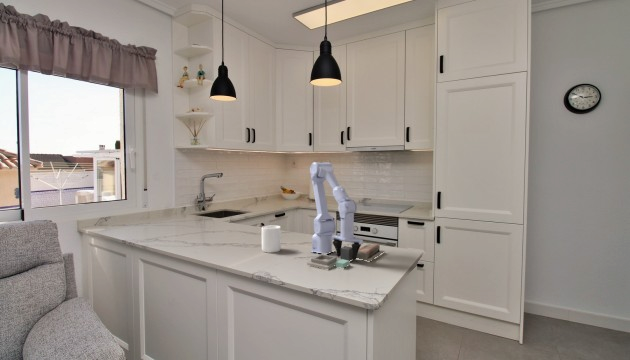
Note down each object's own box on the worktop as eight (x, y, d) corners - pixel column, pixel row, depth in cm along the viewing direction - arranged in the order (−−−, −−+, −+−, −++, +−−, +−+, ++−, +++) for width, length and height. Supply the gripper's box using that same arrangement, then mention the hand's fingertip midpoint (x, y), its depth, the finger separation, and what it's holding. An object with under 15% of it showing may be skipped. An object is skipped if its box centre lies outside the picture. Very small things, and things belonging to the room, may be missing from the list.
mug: (270, 254, 145) (270, 230, 144) (254, 249, 153) (254, 226, 152) (284, 250, 152) (284, 227, 152) (268, 245, 160) (268, 223, 159)
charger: (340, 261, 135) (340, 247, 135) (344, 259, 139) (344, 245, 138) (348, 263, 133) (348, 249, 133) (352, 260, 137) (352, 247, 136)
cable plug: (335, 267, 128) (335, 262, 127) (342, 264, 132) (342, 258, 132) (343, 269, 125) (343, 263, 125) (349, 265, 130) (350, 260, 130)
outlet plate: (307, 265, 130) (307, 259, 129) (322, 258, 140) (322, 252, 139) (327, 270, 124) (327, 263, 124) (341, 262, 134) (341, 256, 134)
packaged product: (370, 253, 133) (350, 249, 139) (370, 263, 134) (349, 260, 139) (384, 244, 148) (365, 241, 154) (384, 253, 149) (365, 250, 154)
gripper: (328, 227, 136) (328, 257, 137) (358, 231, 128) (357, 263, 129) (336, 224, 142) (335, 253, 142) (365, 228, 134) (364, 258, 134)
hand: (346, 257), depth 136 cm, fingers open, 7 cm apart
